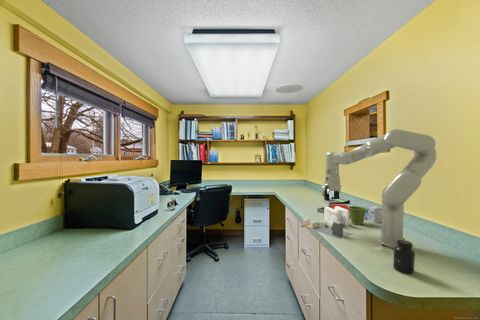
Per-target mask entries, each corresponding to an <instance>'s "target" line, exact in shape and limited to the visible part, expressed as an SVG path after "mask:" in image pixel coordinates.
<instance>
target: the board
mask: <svg viewBox="0 0 480 320" xmlns="http://www.w3.org/2000/svg"><path fill="white" fill-rule="evenodd" d="M300 227H301V228H304V227H305V228H307V229H311V230H313V231H316V232H319V233H322V234H324V235H328V236H331V237H333V238H336V239H338V240H341V239H343V238H346V237H349V236H352V235H353V233H351V232H347V231H344V230H343V236H340V237H338V236H335V235H332V232H333V224H328V222H326V221H319V220H317V221H312V222H311V219H310V218H305V219H302V225H300Z"/></svg>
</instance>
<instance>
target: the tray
mask: <svg viewBox="0 0 480 320" xmlns="http://www.w3.org/2000/svg"><path fill="white" fill-rule="evenodd" d="M325 207H329V205H327V206H322V207H318V208H317V213H321V214H324V208H325ZM349 219H351V216H349Z"/></svg>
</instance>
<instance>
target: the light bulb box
mask: <svg viewBox="0 0 480 320" xmlns="http://www.w3.org/2000/svg"><path fill="white" fill-rule="evenodd" d="M362 207H364V208H367V210H366V213H365V217H364V221H368V222H370V223H373V224H377V223H381V219H382V207H380V206H375V205H371V204H363V205H362Z"/></svg>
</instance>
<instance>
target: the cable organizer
mask: <svg viewBox="0 0 480 320" xmlns="http://www.w3.org/2000/svg"><path fill="white" fill-rule="evenodd" d="M324 207H325V208H324V213H323V219H324V220H323V221H324V222H327V224H329V225H331V224H333V223H334V222H335V221H339V222H342V223H343V227H349V226H350V218H349V216H350V213H349V211H348V210H347V209H344V208H341V207H339V206H335V209H332V208H330V207H327V206H324Z"/></svg>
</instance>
